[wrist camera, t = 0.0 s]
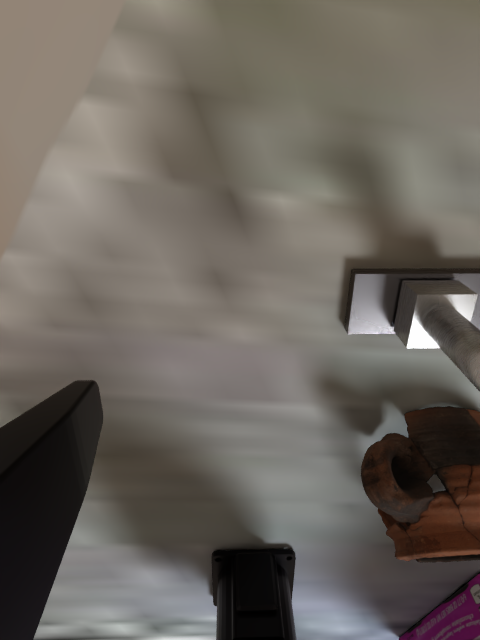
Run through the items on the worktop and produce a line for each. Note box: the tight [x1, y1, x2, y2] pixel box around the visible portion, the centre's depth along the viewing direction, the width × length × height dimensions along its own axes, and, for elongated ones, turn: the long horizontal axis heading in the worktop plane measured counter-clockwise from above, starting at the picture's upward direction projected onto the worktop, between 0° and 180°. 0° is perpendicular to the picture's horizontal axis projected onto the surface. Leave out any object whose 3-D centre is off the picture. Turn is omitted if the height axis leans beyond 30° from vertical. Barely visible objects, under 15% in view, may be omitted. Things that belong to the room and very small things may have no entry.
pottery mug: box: [361, 406, 480, 562], centre depth 27 cm, size 12×10×8 cm
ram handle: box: [393, 280, 480, 391], centre depth 19 cm, size 3×3×10 cm
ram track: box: [344, 269, 480, 334], centre depth 24 cm, size 4×14×1 cm, turn 90°
